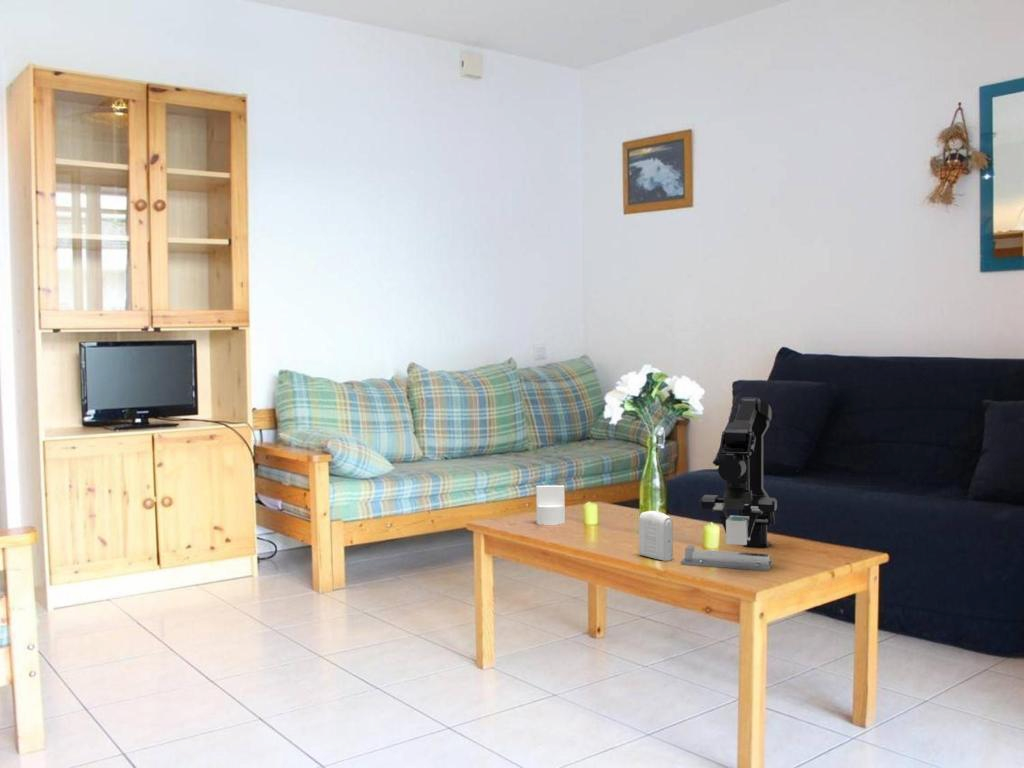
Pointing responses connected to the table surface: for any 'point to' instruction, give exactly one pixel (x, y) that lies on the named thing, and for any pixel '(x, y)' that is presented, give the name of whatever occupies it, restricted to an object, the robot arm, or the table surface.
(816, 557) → the table surface
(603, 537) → the table surface
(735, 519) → the module
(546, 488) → the cylinder with rectangular tab
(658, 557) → the photo printer
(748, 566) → the rail panel
